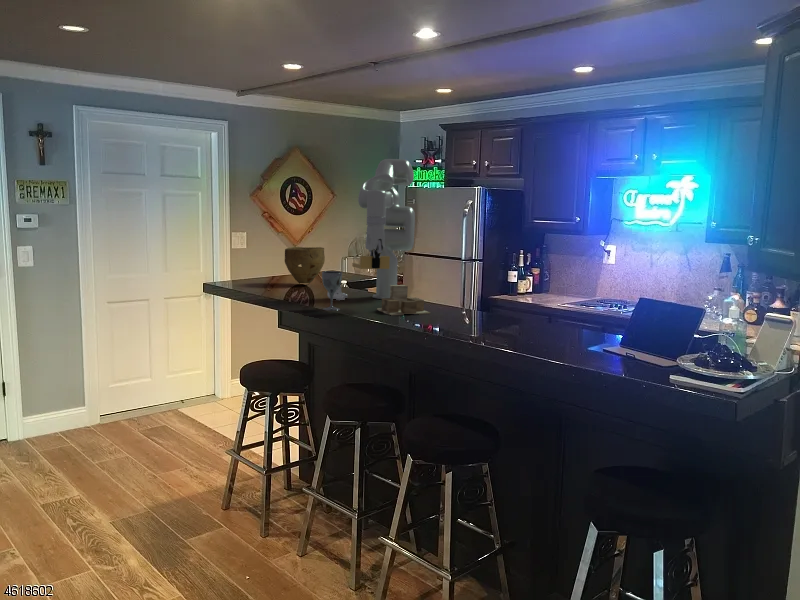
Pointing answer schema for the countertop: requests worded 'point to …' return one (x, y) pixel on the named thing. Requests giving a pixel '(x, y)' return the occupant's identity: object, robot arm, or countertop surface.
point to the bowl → (304, 262)
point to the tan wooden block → (367, 262)
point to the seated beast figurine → (338, 295)
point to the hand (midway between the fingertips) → (374, 267)
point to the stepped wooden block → (401, 302)
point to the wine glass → (331, 285)
